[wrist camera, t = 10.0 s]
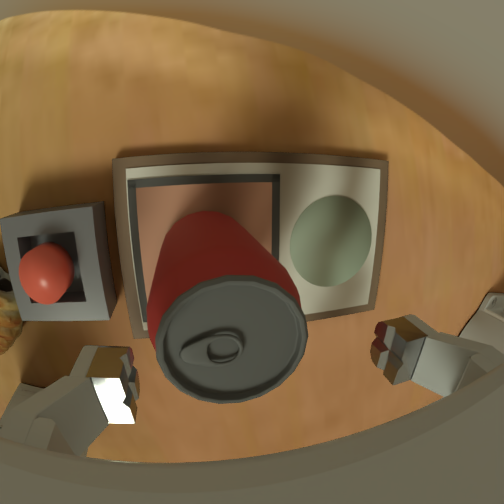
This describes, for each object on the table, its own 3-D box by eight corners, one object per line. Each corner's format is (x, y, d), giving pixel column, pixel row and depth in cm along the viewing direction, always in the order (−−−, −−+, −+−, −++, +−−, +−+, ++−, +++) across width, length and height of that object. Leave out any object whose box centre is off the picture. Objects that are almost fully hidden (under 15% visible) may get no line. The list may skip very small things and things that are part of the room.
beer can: (155, 214, 20) (120, 274, 8) (248, 205, 21) (325, 249, 10) (168, 301, 21) (163, 422, 10) (253, 290, 23) (316, 395, 12)
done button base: (104, 201, 19) (92, 206, 17) (117, 302, 22) (109, 320, 19) (18, 212, 18) (-1, 218, 15) (36, 304, 20) (22, 320, 17)
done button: (69, 239, 17) (59, 247, 15) (79, 292, 18) (70, 304, 16) (26, 243, 16) (13, 251, 14) (37, 293, 17) (26, 304, 15)
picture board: (383, 160, 23) (389, 160, 22) (369, 306, 27) (375, 310, 26) (114, 159, 19) (111, 158, 18) (135, 333, 23) (133, 340, 22)
